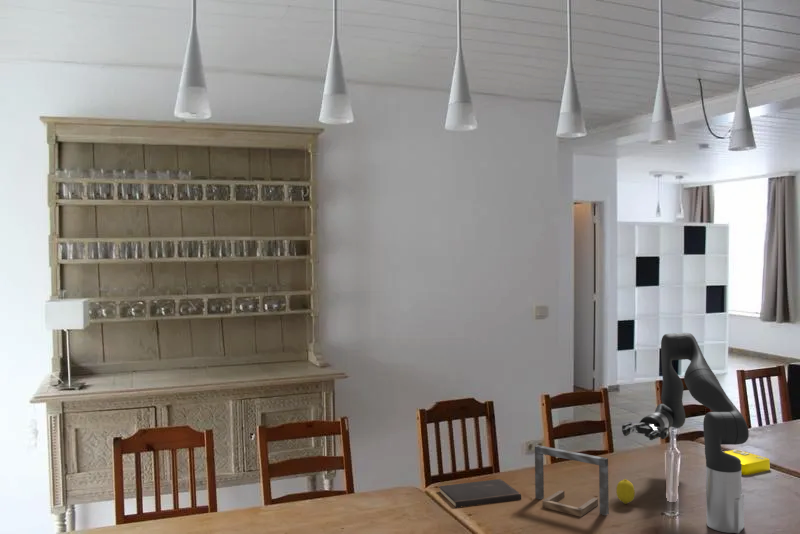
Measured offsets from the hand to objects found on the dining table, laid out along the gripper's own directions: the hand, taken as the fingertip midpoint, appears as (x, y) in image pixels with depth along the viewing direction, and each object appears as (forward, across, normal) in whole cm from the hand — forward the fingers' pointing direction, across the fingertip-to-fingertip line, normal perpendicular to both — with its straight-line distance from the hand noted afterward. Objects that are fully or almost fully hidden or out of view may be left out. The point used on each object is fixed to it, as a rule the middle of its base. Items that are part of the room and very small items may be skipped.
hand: (637, 434), depth 216 cm
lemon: (+11, 0, +20) cm, 23 cm away
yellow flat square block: (-52, +19, +21) cm, 59 cm away
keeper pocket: (+23, -13, +20) cm, 33 cm away
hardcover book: (+33, -41, +20) cm, 56 cm away
